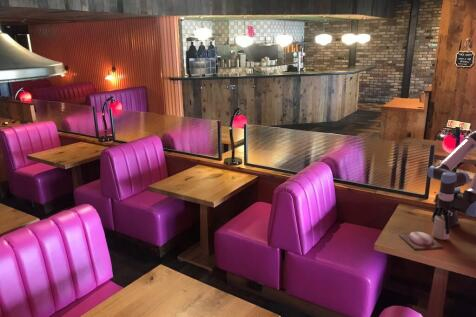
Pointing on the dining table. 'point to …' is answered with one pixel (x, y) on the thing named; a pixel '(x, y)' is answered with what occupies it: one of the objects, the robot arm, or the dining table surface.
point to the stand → (420, 241)
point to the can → (439, 227)
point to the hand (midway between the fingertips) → (440, 234)
